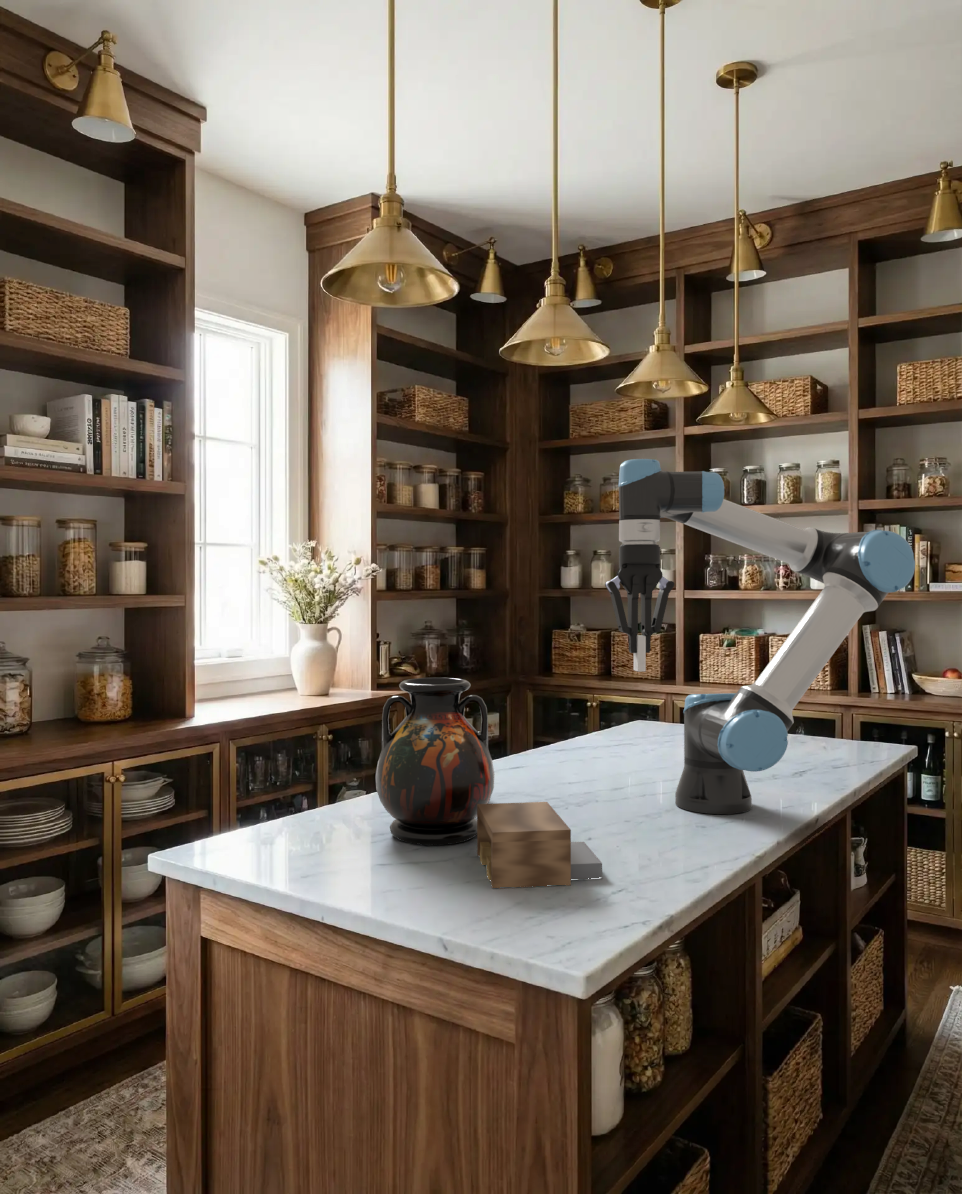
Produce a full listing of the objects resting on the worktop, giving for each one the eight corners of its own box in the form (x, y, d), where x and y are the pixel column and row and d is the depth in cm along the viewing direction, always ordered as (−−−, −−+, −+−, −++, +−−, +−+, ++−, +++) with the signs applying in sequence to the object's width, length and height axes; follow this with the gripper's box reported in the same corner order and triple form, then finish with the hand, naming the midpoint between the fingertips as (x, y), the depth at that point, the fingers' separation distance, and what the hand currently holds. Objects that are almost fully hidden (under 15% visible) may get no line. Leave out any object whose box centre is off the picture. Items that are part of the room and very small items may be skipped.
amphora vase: (372, 853, 163) (371, 688, 162) (379, 820, 184) (378, 675, 183) (498, 851, 164) (498, 687, 163) (490, 818, 185) (490, 674, 185)
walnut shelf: (547, 851, 163) (547, 801, 163) (570, 885, 146) (570, 829, 145) (477, 854, 162) (477, 804, 162) (492, 888, 144) (492, 832, 144)
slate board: (584, 859, 161) (584, 841, 161) (602, 882, 149) (602, 863, 149) (489, 863, 159) (489, 845, 159) (500, 886, 147) (500, 867, 147)
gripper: (610, 543, 173) (611, 673, 173) (680, 543, 175) (680, 672, 175) (599, 544, 180) (600, 669, 181) (666, 544, 182) (666, 668, 183)
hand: (639, 670), depth 178 cm, fingers closed
